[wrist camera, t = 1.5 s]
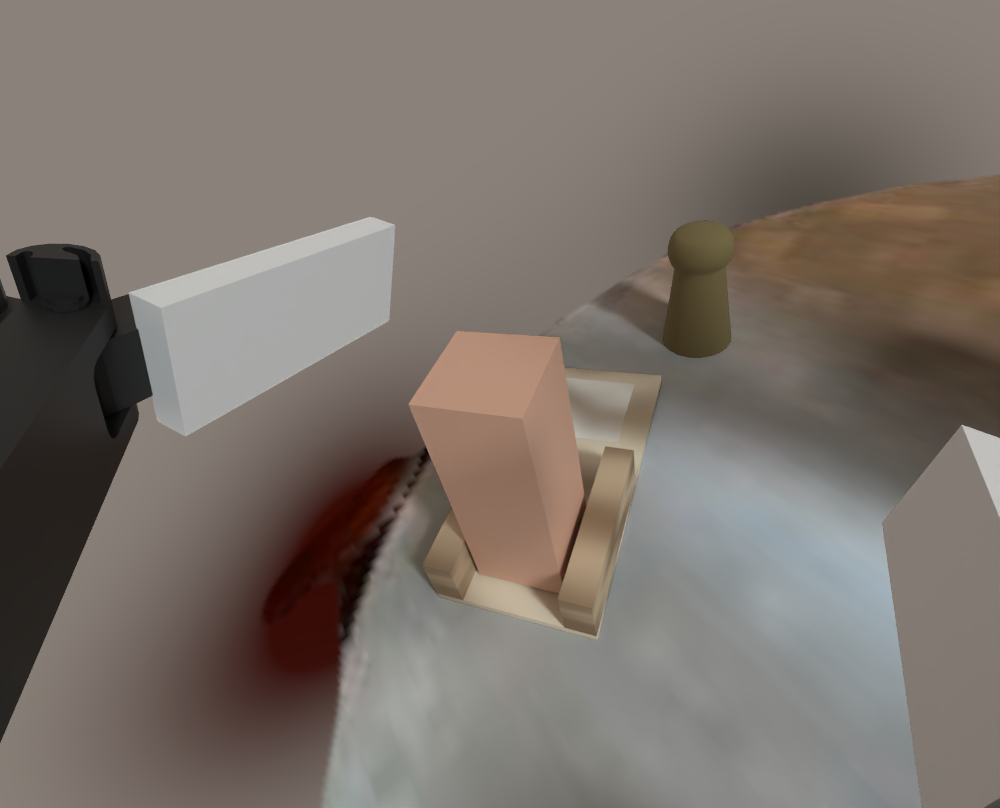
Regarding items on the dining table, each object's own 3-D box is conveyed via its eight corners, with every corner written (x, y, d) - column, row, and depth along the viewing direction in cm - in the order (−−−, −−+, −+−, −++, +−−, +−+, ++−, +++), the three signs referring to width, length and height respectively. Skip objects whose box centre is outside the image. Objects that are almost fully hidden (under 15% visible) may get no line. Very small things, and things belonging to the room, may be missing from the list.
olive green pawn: (650, 344, 53) (647, 237, 46) (685, 311, 56) (688, 206, 49) (708, 365, 50) (715, 253, 42) (743, 330, 52) (756, 218, 45)
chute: (543, 369, 54) (537, 336, 51) (662, 379, 49) (661, 343, 47) (438, 596, 38) (421, 565, 36) (597, 640, 34) (591, 608, 31)
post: (509, 503, 42) (456, 330, 31) (588, 518, 40) (559, 337, 29) (479, 574, 38) (408, 404, 28) (564, 595, 36) (522, 418, 25)
